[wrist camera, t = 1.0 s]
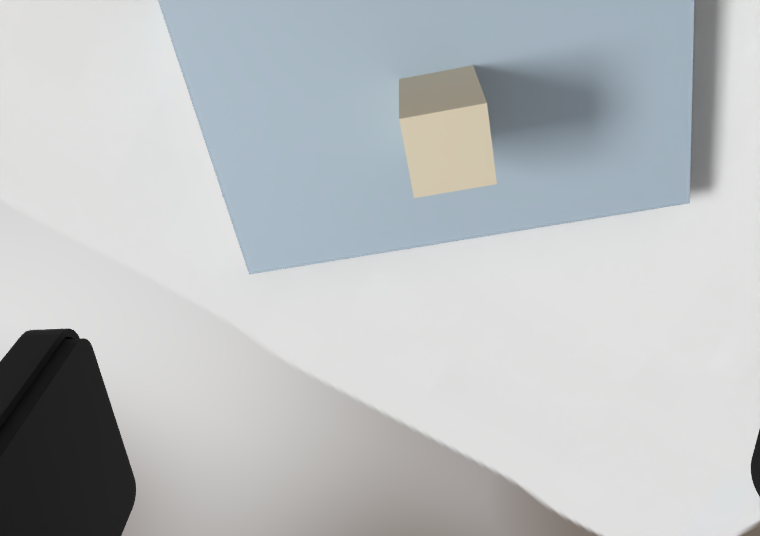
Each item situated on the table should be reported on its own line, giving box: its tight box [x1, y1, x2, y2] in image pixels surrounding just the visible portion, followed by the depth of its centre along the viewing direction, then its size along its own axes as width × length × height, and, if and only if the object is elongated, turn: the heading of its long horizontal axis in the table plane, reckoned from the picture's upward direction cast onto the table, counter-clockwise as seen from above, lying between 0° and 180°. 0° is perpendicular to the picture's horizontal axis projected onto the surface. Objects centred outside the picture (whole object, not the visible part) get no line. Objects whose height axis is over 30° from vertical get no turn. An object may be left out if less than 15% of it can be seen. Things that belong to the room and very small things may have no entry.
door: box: [158, 0, 694, 274], centre depth 27 cm, size 20×14×6 cm
